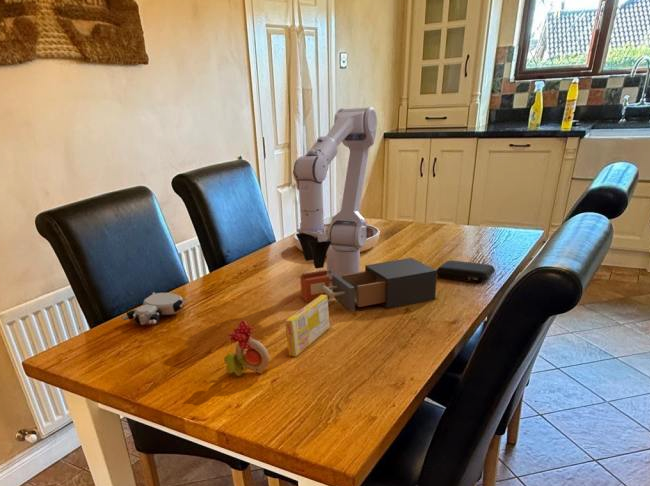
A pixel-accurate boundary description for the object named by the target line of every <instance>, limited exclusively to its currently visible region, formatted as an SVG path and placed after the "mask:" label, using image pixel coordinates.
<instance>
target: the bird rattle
mask: <svg viewBox="0 0 650 486" xmlns="http://www.w3.org/2000/svg"><path fill="white" fill-rule="evenodd" d="M253 331H254V328H253V327H252V326H251V325H248V324H247V322H246V320H245V319H244V320H241V321H240V323H239V324H238V326H237V327H234V329H233V333H231V332H230V333H229V332H228V333H226V335H227V336H228V337H230V338H229V339H230V342H231V343H233V344H234V343H236V342H237V344H236V346H235V352H234V353H229V354H226V355H224V358H223V360H224V363H225V364H226V373H227V374H228V375H231V374H233V373H234V374H235V375H236V377H240V376H242V374H243V373H242V372H243V371H242V369H244V368H246V369H247V370H250V371H253V372H256V373H258V374H263V373H264V372H265V371H264V370H265V369H266V368H267V366H268V365H269V362H270V354H269V351H268V349H267V348H266V347H265V346H264V344H263V343H261V341H258V340H257V339H254V338H252V337H251V336H252V334H253ZM246 349H247V350H246Z"/></svg>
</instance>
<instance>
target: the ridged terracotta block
mask: <svg viewBox="0 0 650 486" xmlns="http://www.w3.org/2000/svg"><path fill="white" fill-rule="evenodd" d="M299 277H300V291H301V299H303V300H304V301H305V302H306V303H310V302H312V301H313V300H315V299H316V298H317V297H319V296H320V295H327V294H326V293H325V292H323V291H322V287H323V286H326V287H330V279H329V276H328V275H327V269H324V270H323V269H322V270H318V271H311V272H305V273H301V275H300V276H299ZM327 299H331V298H330V297H329V296H328V295H327Z"/></svg>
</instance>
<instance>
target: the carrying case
mask: <svg viewBox="0 0 650 486" xmlns="http://www.w3.org/2000/svg"><path fill="white" fill-rule="evenodd" d="M436 270H437V277H438V278H443V279H451V280H457V281H459V280H460V281H468V282H474V283H475V282H476V283H484V282H486V281H487V280H488V279H489V278H490V277H491V276H492V275H494V274H495V272H496V268H495V267H494V266H493V265H492V264H486V263H479V262H478V263H477V262H468V261H461V260H460V261H459V260H447V261H446V262H444V263H443V264H441V265H439V267H437V268H436Z"/></svg>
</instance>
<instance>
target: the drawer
mask: <svg viewBox="0 0 650 486" xmlns="http://www.w3.org/2000/svg"><path fill="white" fill-rule="evenodd" d="M322 291H323V292H325V293H326V294H327V295H328V296H329V297H330V298H329V299H335V300H337V301H338V302H339V303H340V304H341V305H343V306H344V307H345V308H346V309H347V310H348V311H350V312H352V311H355V310H356V309H355V306H356V307H358V308H360V307H366V306H372V305H373V306H374V305H378V304H380V303H383V302H386V281H385V280H384V279H382V278H380V277H379V276H377V275H375V274H374V273H372V272H371V271H365V270H363V271H360V272H357V273H351V274H345V275H342V278H340V277H339V276H338V275H332V280H331V285H329V287H326V286H323V287H322Z"/></svg>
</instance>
